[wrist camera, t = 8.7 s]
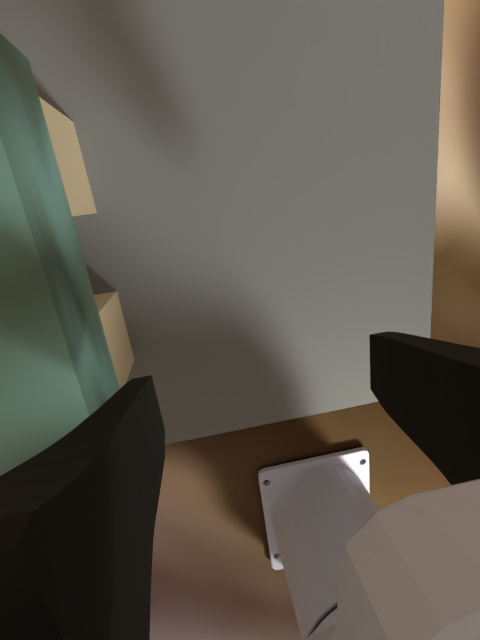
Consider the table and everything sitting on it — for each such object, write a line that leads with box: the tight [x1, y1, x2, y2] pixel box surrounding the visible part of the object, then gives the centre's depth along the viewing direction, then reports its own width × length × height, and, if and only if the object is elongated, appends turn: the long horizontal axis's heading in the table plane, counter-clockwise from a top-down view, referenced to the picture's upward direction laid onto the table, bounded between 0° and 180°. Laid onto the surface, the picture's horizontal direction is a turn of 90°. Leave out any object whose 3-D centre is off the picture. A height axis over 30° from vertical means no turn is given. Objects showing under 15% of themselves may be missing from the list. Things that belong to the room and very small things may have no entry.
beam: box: [0, 33, 120, 476], centre depth 12 cm, size 14×4×4 cm, turn 7°
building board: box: [0, 0, 444, 445], centre depth 17 cm, size 24×26×5 cm
